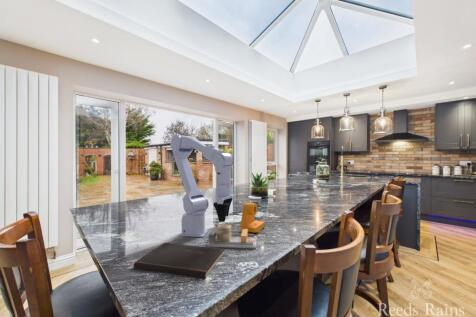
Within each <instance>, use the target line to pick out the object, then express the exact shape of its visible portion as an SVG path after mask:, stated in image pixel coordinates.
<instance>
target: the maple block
mask: <svg viewBox="0 0 476 317" xmlns="http://www.w3.org/2000/svg"><path fill="white" fill-rule="evenodd" d="M216 228H217V241H227V242H230V240H231V233H232V224H231V225H230V224H218V226H217V227H216Z"/></svg>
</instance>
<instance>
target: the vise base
mask: <svg viewBox="0 0 476 317" xmlns="http://www.w3.org/2000/svg"><path fill="white" fill-rule="evenodd" d="M241 234H242V232H241V233H237V232H236V233H235V232H231V240H230V242H227V241H217V227H213V228H212V229H211V231H210V232H209V234H208V242H207V243H206V247H209V248H231V249H232V248H234V249H235V248H237V249H239V248H240V249H256V248H257V240H258V236H257V235H255V234H254V233H248V238H247V242H241Z"/></svg>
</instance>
